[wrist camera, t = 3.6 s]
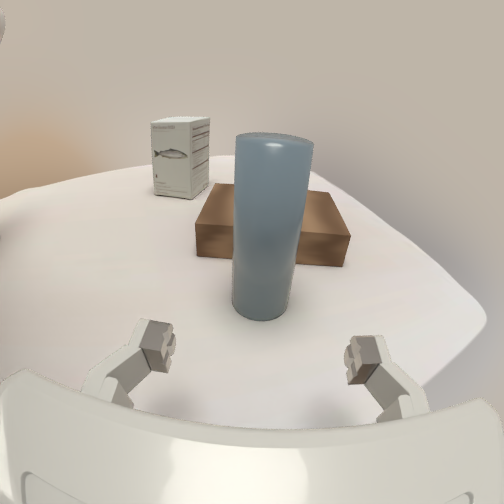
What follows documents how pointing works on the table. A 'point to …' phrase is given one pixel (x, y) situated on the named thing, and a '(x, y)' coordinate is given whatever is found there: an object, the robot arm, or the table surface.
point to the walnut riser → (311, 238)
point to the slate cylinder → (267, 220)
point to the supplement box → (180, 156)
